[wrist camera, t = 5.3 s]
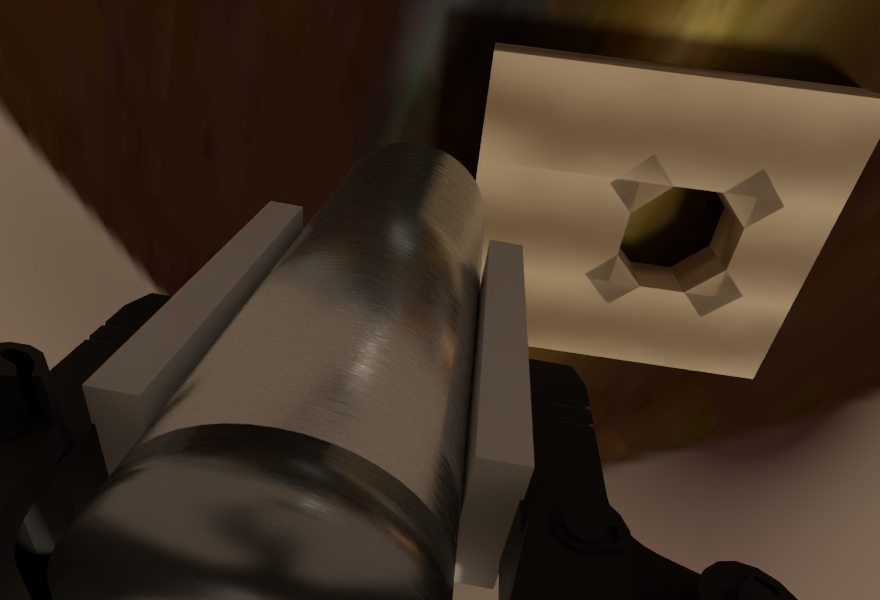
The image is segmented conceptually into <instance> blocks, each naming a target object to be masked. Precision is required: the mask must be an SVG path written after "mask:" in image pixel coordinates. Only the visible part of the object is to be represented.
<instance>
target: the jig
mask: <svg viewBox="0 0 880 600" xmlns="http://www.w3.org/2000/svg"><path fill="white" fill-rule="evenodd" d="M879 138H880V94H877V93H874V92H871V91H869V90H866V89H863V88H856V87H848V86H840V85H832V84H824V83H816V82H808V81H800V80H792V79H784V78H776V77H768V76H760V75H752V74H744V73H736V72H728V71H720V70H712V69H704V68H696V67H688V66H680V65H672V64H664V63H656V62H648V61H640V60H632V59H624V58H616V57H608V56H600V55H592V54H584V53H576V52H568V51H560V50H552V49H544V48H536V47H528V46H520V45H512V44H504V43H495V48H494V54H493V61H492V68H491V75H490V83H489V90H488V97H487V104H486V111H485V118H484V125H483V132H482V139H481V147H480V154H479V161H478V168H477V175H476V183H477V185H478V187H479V189H480V192H481V194H482V197H483V201H484V206H485V219H486V221H485V233H484V244H483V256H482V267H481V278H480V285H481V280H482V275H483V270H484V266H485V261H486V256H487V251H488V246H489V242H490V240H495V241H500V242H506V243H512V244H517V245H523V262H524V281H525V299H526V318H527V336H528V346H531V347H538V348H545V349H551V350H558V351H565V352H572V353H579V354H586V355H592V356H599V357H606V358H613V359H620V360H627V361H633V362H640V363H647V364H654V365H661V366H667V367H674V368H681V369H688V370H695V371H702V372H708V373H715V374H722V375H729V376H736V377H743V378H749V379H753V378H754V376H755V374H756V372H757V370H758V368H759V367H760V365H761V363H762V361H763V359H764V357H765V355H766V353H767V351H768V349H769V348H770V346H771V344H772V342H773V340H774V338H775V336H776V334H777V332H778V330H779V329H780V327H781V325H782V323H783V321H784V319H785V317H786V315H787V313H788V311H789V310H790V308H791V306H792V304H793V302H794V300H795V298H796V296H797V294H798V292H799V290H800V289H801V287H802V285H803V283H804V281H805V279H806V277H807V275H808V273H809V271H810V270H811V268H812V266H813V264H814V262H815V260H816V258H817V256H818V254H819V252H820V251H821V249H822V247H823V245H824V243H825V241H826V239H827V237H828V235H829V233H830V232H831V230H832V228H833V226H834V224H835V222H836V220H837V218H838V216H839V214H840V212H841V211H842V209H843V207H844V205H845V203H846V201H847V199H848V197H849V195H850V193H851V192H852V190H853V188H854V186H855V184H856V182H857V180H858V178H859V176H860V174H861V173H862V171H863V169H864V167H865V165H866V163H867V161H868V159H869V157H870V155H871V154H872V152H873V150H874V148H875V146H876V144H877V142H878V140H879ZM674 186H676V187H683V188H691V189H698V190H706V191H713V192H716V193H717V194H718V196H719V198H720V200H721V201H722V203H723V205H724V206H725V207H724V210H723V212H722V215H721V217H720V220H719V222H718V225H717V227H716V230H715V232H714V235H713V237H712V240H711V242H710V245H709V246H707V247H706V248H704V249H702V250H700V251H698V252H697V253H695V254H693V255H691V256H689V257H687V258H686V259H684V260H682V261H680V262H678V263H677V264H675V265H673V266H671V267H667V266H660V265H652V264H645V263H638V262H631V261H629V259H628V258H627V257H626V255H625V254H624V252H623V251H622V250H621V248H620V245H621V242H622V239H623V235H624V232H625V229H626V226H627V222H628V219H629V216H630V213H632V212H633V211H635V210H636V209H638V208H640V207H641V206H643V205H645V204H646V203H648V202H649V201H651V200H653V199H654V198H656V197H658V196H659V195H661V194H662V193H664V192H666V191H667V190H669V189H671V188H672V187H674Z"/></svg>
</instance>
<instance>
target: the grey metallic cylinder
mask: <svg viewBox="0 0 880 600" xmlns="http://www.w3.org/2000/svg"><path fill="white" fill-rule="evenodd" d="M485 221H486V219H485V206H484V201H483V197H482V194H481V192H480V189H479V187H478V185H477V183H476V182H475V180H474V178H473V177H472V175H471V174H470V173H469V172H468V170H467V169H466V168H465V167H464V166H463V165H462V164H461V163H460V162H458V161H457V160H456V159H454V158H453V157H452V156H450V155H449V154H447V153H445V152H443V151H441V150H439V149H436V148H434V147H431V146H428V145H423V144H418V143H396V144H390V145H387V146H383V147H380V148H378V149H376V150H374V151H372V152H370V153H369V154H367V155H366V156H364V157H363V158H362V159H360V160H359V161H358V162H357V163H356V164H355V165H354V167H353V168H352V169H351V170H350V171H349V173H348V174H347V175H346V176H345V178H344V179H343V180H342V182H341V183H340V184H339V185H338V187H337V188H336V189H335V190H334V192H333V193H332V194H331V196H330V197H329V198H328V199H327V201H326V202H325V203H324V204H323V206H322V207H321V208H320V209H319V211H318V212H317V213H316V215H315V216H314V217H313V218H312V220H311V221H310V222H309V223H308V225H307V226H306V227H305V229H304V230H303V231H302V232H301V234H300V235H299V236H298V237H297V239H296V240H295V241H294V242H293V244H292V245H291V246H290V248H289V249H288V250H287V251H286V253H285V254H284V255H283V256H282V258H281V259H280V260H279V262H278V263H277V264H276V265H275V267H274V268H273V269H272V270H271V272H270V273H269V274H268V276H267V277H266V278H265V279H264V281H263V282H262V283H261V284H260V286H259V287H258V288H257V289H256V291H255V292H254V293H253V295H252V296H251V297H250V298H249V300H248V301H247V302H246V303H245V305H244V306H243V307H242V309H241V310H240V311H239V312H238V314H237V315H236V316H235V317H234V319H233V320H232V321H231V322H230V324H229V325H228V326H227V328H226V329H225V330H224V331H223V333H222V334H221V335H220V336H219V338H218V339H217V340H216V342H215V343H214V344H213V345H212V347H211V348H210V349H209V350H208V352H207V353H206V354H205V356H204V357H203V358H202V359H201V361H200V362H199V363H198V364H197V366H196V367H195V368H194V369H193V371H192V372H191V373H190V375H189V376H188V377H187V378H186V380H185V381H184V382H183V383H182V385H181V386H180V387H179V389H178V390H177V391H176V392H175V394H174V395H173V396H172V397H171V399H170V400H169V401H168V402H167V404H166V405H165V406H164V408H163V409H162V410H161V411H160V413H159V414H158V415H157V416H156V418H155V419H154V420H153V422H152V423H151V424H150V425H149V427H148V428H147V429H146V430H145V432H144V433H143V434H142V436H141V437H140V438H139V439H138V441H137V442H136V443H135V444H134V446H133V447H132V448H131V449H130V451H129V452H128V453H127V455H126V456H125V457H124V458H123V460H122V461H121V462H120V463H119V465H118V466H117V467H116V469H115V470H114V471H113V472H112V474H111V475H110V476H109V477H108V479H107V480H106V481H105V482H104V484H103V485H102V486H101V488H100V489H99V490H98V491H97V493H96V494H95V495H94V496H93V498H92V499H91V500H90V502H89V503H88V504H87V505H86V507H85V508H84V509H83V510H82V512H81V513H80V514H79V516H78V517H77V518H76V519H75V521H74V522H73V523H72V524H71V526H70V527H69V528H68V529H67V531H66V532H65V533H64V535H63V536H62V537H61V538H60V540H59V541H58V542H57V543H56V545H55V547H54V549H53V551H52V553H51V555H50V558H49V563H48V568H47V577H48V587H49V590H50V593H51V596H52V600H452V598H453V587H454V576H455V564H456V553H457V541H458V530H459V518H460V507H461V496H462V484H463V473H464V461H465V450H466V438H467V427H468V416H469V404H470V393H471V381H472V370H473V358H474V347H475V336H476V324H477V313H478V301H479V290H480V278H481V267H482V256H483V244H484V233H485Z"/></svg>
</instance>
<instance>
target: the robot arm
mask: <svg viewBox="0 0 880 600" xmlns="http://www.w3.org/2000/svg"><path fill="white" fill-rule="evenodd" d="M302 231H303V207H301V206H295V205H290V204H284V203H278V202H273V201H270V202H269V203H268V204H267V205H266V206H265V207H264V208H263V209H262V210H261V211H260V212H259V213H258V214H257V215H256V216H255V217H254V218H253V219H252V220H251V221H250V222H249V223H248V224H247V225H246V226H245V227H244V228H243V229H242V230H240V231H239V232H238V233H237V234H236V235H235V236H234V237H233V238H232V239H231V240H230V241H229V242H228V243H227V244H226V245H225V246H224V247H223V248H222V249H221V250H220V251H219V252H218V253H217V254H216V255H215V256H214V257H213V258H212V259H211V260H210V261H209V262H208V263H207V264H206V265H205V266H204V267H203V268H201V269H200V270H199V271H198V272H197V273H196V274H195V275H194V276H193V277H192V278H191V279H190V280H189V281H188V282H187V283H186V284H185V285H184V286H183V287H182V288H181V289H180V290H179V291H178V292H177V293H176V294H175V295H174V296H173V297H171V296H166V295H160V294H155V293H151V294H148V295H146V296H144V297H142V298H140V299H137V300H135V301H133V302H131V303H129V304H127V305H125V306H123V307H122V308H121V309H120V310H119V311H118V312H117V313H116V314H114V315H113V316H112V317H111V318H110V319H108V321H106V324H105V326H101V327H99V328H98V329H97V330H96V331H95V332H94V333H93V334H91V335H90V338H89V340H84V341H83V342H82V343H81V344H80V345H79V346H78V347H76V348H75V350H73V351H72V352H71V353H70V354H68V355H67V356H66V357H65V358H64V359H63V360H62V361H61V362H60V363H58V364H57V365H56V366H55V367H54V368H52V369H51V370H50V371H49V368H48V365H47V362H46V359H45V357H44V354H43V352H41V351H39V350H38V349H36V348H34V347H32V346H31V345H26V344H19V343H13V342H4V343H0V600H52V596H51V593H50V590H49V587H48V577H47V568H48V563H49V558H50V555H51V553H52V551H53V549H54V547H55V545H56V543H57V542H58V541H59V540H60V538H61V537H62V536H63V535H64V533H65V532H66V531H67V529H68V528H69V527H70V526H71V524H72V523H73V522H74V521H75V519H76V518H77V517H78V516H79V514H80V513H81V512H82V510H83V509H84V508H85V507H86V505H87V504H88V503H89V502H90V500H91V499H92V498H93V496H94V495H95V494H96V493H97V491H98V490H99V489H100V488H101V486H102V485H103V484H104V482H105V481H106V480H107V479H108V477H109V476H110V475H111V474H112V472H113V471H114V470H115V469H116V467H117V466H118V465H119V463H120V462H121V461H122V460H123V458H124V457H125V456H126V455H127V453H128V452H129V451H130V449H131V448H132V447H133V446H134V444H135V443H136V442H137V441H138V439H139V438H140V437H141V436H142V434H143V433H144V432H145V430H146V429H147V428H148V427H149V425H150V424H151V423H152V422H153V420H154V419H155V418H156V416H157V415H158V414H159V413H160V411H161V410H162V409H163V408H164V406H165V405H166V404H167V402H168V401H169V400H170V399H171V397H172V396H173V395H174V394H175V392H176V391H177V390H178V389H179V387H180V386H181V385H182V383H183V382H184V381H185V380H186V378H187V377H188V376H189V375H190V373H191V372H192V371H193V369H194V368H195V367H196V366H197V364H198V363H199V362H200V361H201V359H202V358H203V357H204V356H205V354H206V353H207V352H208V350H209V349H210V348H211V347H212V345H213V344H214V343H215V342H216V340H217V339H218V338H219V336H220V335H221V334H222V333H223V331H224V330H225V329H226V328H227V326H228V325H229V324H230V322H231V321H232V320H233V319H234V317H235V316H236V315H237V314H238V312H239V311H240V310H241V309H242V307H243V306H244V305H245V303H246V302H247V301H248V300H249V298H250V297H251V296H252V295H253V293H254V292H255V291H256V289H257V288H258V287H259V286H260V284H261V283H262V282H263V281H264V279H265V278H266V277H267V276H268V274H269V273H270V272H271V270H272V269H273V268H274V267H275V265H276V264H277V263H278V262H279V260H280V259H281V258H282V256H283V255H284V254H285V253H286V251H287V250H288V249H289V248H290V246H291V245H292V244H293V242H294V241H295V240H296V239H297V237H298V236H299V235H300V234H301V232H302ZM498 574H499V600H798V599H796V598H795V597H794V596H793V595H792V594H791V593H790V592H789V591H788V590H787V589H786V588H785V587H784V586H783V585H782V584H781V583H780V582H779V581H777V580H775V579H774V578H772V577H771V576H769V575H768V574H766V573H764V572H763V571H761V570H759V569H758V568H755V567H752V566H749V565H746V564H743V563H740V562H737V561H719V562H716V563H714V564H713V565H711V566H709V567H708V568H706V569H705V570H704V571H703V572H702V574H701V575H700V574H698V573H696V572H694V571H692V570H690V569H688V568H686V567H684V566H682V565H679V564H677V563H675V562H673V561H671V560H669V559H667V558H665V557H662V556H660V555H659V554H657V553H655V552H653V551H652V550H650V549H648V548H646V547H645V546H643V545H642V544H641V543H639V542H638V541H637V540H636V539H634V538H633V537H632V536H631V534H630V530H629V529H628V527H627V526H626V524H625V522H624V521H623V519H622V517H621V516H620V514H619V513H618V512H616V511H615V510H614V509H613V508H612V507H611V506H610V504H609V502H608V498H607V494H606V489H605V483H604V478H603V473H602V467H601V462H600V457H599V451H598V446H597V441H596V436H595V430H594V429H593V420H592V414H591V412H590V404H589V398H588V393H587V388H586V385H585V384H584V383H583V381H582V380H581V378H580V377H579V376H578V374H577V373H576V371H575V370H574V369H573V367H572V366H567V365H562V364H556V363H550V362H545V361H539V360H534V359H529V355H528V336H527V318H526V299H525V281H524V262H523V245H517V244H512V243H506V242H500V241H495V240H490V242H489V246H488V251H487V256H486V261H485V266H484V270H483V275H482V280H481V285H480V290H479V301H478V313H477V324H476V336H475V347H474V358H473V370H472V381H471V393H470V404H469V416H468V427H467V438H466V450H465V461H464V473H463V484H462V496H461V507H460V518H459V530H458V541H457V553H456V564H455V576H454V582H458V583H463V584H469V585H474V586H479V587H485V588H490V589H493V588H494V585H495V582H496V579H497V577H498Z"/></svg>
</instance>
